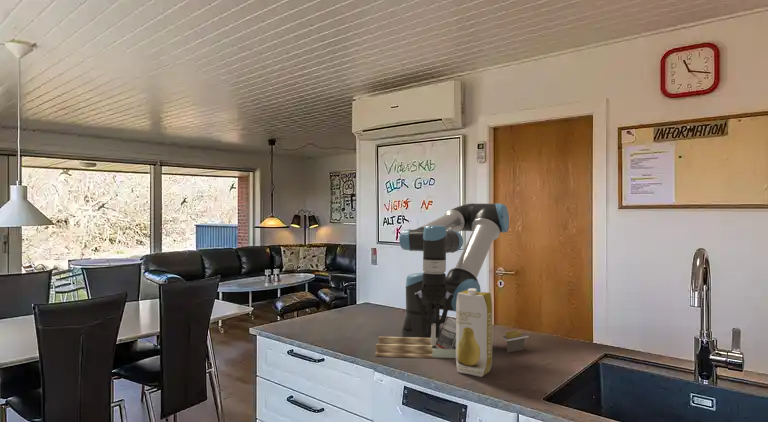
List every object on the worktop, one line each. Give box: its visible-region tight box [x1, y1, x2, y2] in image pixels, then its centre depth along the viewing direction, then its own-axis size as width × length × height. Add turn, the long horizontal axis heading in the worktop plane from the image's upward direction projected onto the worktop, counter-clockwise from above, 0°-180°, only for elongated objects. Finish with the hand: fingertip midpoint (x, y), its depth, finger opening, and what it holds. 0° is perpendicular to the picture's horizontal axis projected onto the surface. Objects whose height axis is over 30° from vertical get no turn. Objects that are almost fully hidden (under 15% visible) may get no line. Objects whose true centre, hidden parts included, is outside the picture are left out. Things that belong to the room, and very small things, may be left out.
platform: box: [501, 329, 529, 353], centre depth 165 cm, size 12×18×7 cm, turn 123°
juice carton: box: [455, 288, 493, 378], centre depth 142 cm, size 9×8×24 cm
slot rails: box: [374, 336, 434, 359], centre depth 163 cm, size 18×15×3 cm
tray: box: [432, 338, 456, 359], centre depth 162 cm, size 14×14×2 cm
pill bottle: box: [435, 317, 456, 349], centre depth 162 cm, size 6×6×10 cm
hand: (433, 344), depth 162 cm, fingers closed
